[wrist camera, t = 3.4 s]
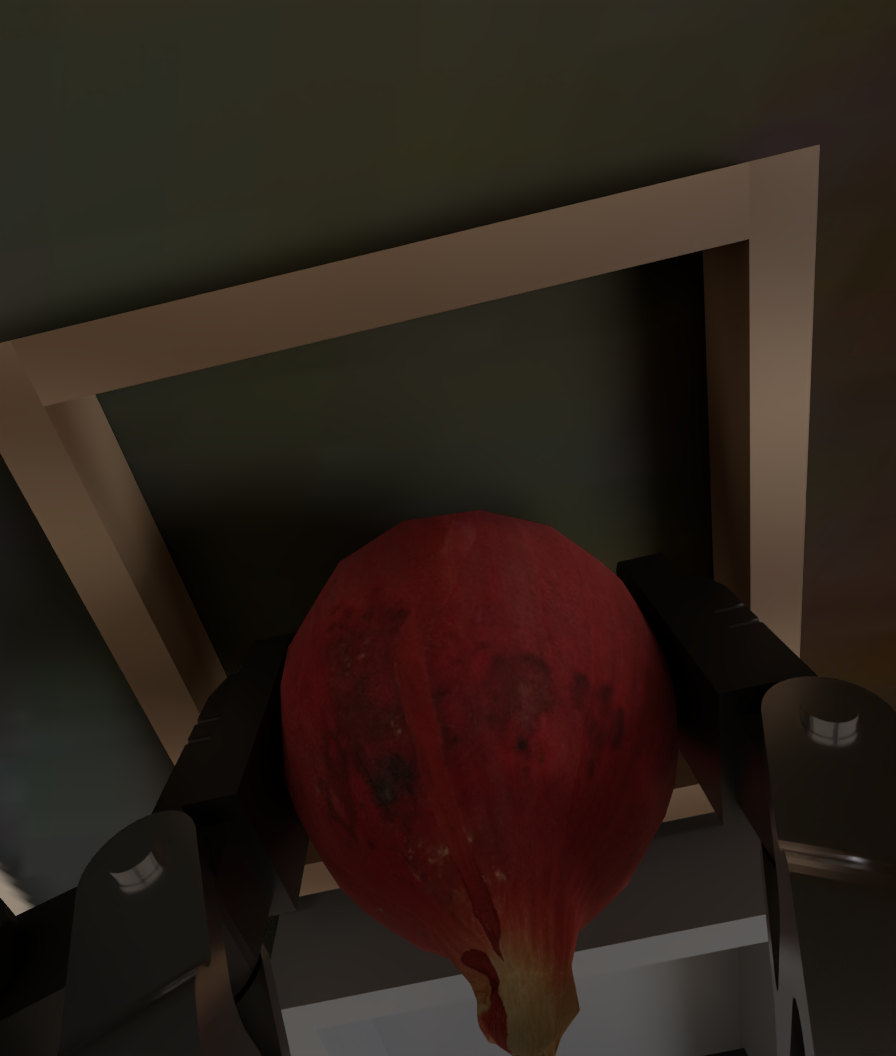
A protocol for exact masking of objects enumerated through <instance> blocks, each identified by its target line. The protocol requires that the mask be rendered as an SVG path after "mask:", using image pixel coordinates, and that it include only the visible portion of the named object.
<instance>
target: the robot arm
mask: <svg viewBox="0 0 896 1056" xmlns="http://www.w3.org/2000/svg"><path fill="white" fill-rule="evenodd" d="M616 573H617V577H618V578H620V579H621V580H622V582H623V583H624V585H625V586H626V588H627V589H628V591H629V593H630V594H631V596H632V597H633V599H634V600H635V602H636V603H637V605H638V607H639V608H640V610H641V611H642V613H643V614H644V616H645V617H646V619H647V621H648V622H649V624H650V626H651V627H652V629H653V631H654V633H655V635H656V637H657V639H658V641H659V643H660V645H661V647H662V649H663V651H664V653H665V655H666V657H667V659H668V661H669V666H670V671H671V676H672V682H673V687H674V692H675V697H676V714H677V731H678V748H679V749H680V751H681V753H682V755H683V756H684V758H685V760H686V762H687V764H688V765H689V767H690V769H691V771H692V772H693V774H694V776H695V778H696V779H697V781H698V783H699V785H700V786H701V788H702V790H703V792H704V793H705V795H706V797H707V799H708V801H709V802H710V804H711V806H712V808H713V809H714V811H715V813H716V815H717V816H718V818H719V820H720V822H721V823H722V825H723V826H726V825H731V824H736V823H741V822H746V821H749V823H750V824H751V826H752V827H753V829H754V831H755V832H756V834H757V835H758V837H759V839H760V840H761V841H760V861H761V871H762V882H763V892H764V902H765V912H766V923H767V933H768V943H769V954H770V964H771V974H772V984H773V995H774V1006H775V1020H776V1039H777V1056H896V712H895V711H894V710H893V708H892V707H891V706H890V705H889V704H887V703H886V702H885V701H884V700H883V699H881V698H880V697H878V696H877V695H876V694H874V693H872V692H870V691H868V690H866V689H865V688H862V687H860V686H857V685H855V684H852V683H849V682H846V681H842V680H838V679H833V678H828V677H818V676H817V675H816V674H815V673H814V672H813V671H812V670H811V669H810V668H809V667H808V666H807V665H806V664H805V663H804V662H803V661H802V660H801V659H800V658H799V657H798V656H797V655H796V654H795V653H794V652H793V651H792V650H791V649H790V648H789V647H788V646H787V645H786V644H785V643H784V642H783V641H782V640H781V639H779V638H778V637H777V636H776V635H775V634H774V633H773V632H772V631H771V630H770V629H769V628H768V627H767V626H766V625H765V624H764V623H763V622H760V621H759V618H758V617H757V616H756V615H755V614H754V613H753V612H752V611H751V610H750V609H749V608H748V607H744V604H743V602H742V601H741V600H740V599H739V598H738V597H737V596H736V595H735V594H734V593H733V592H732V591H731V590H729V589H728V588H727V587H726V586H725V585H723V584H721V583H719V582H716V581H714V580H712V579H710V578H707V577H705V576H703V575H701V574H699V573H698V574H694V575H689V576H684V577H683V576H682V575H681V574H680V573H679V572H678V570H677V569H676V568H675V567H674V566H673V565H672V564H671V563H670V562H669V561H668V559H667V558H666V557H665V556H664V555H663V554H661V553H657V554H653V555H648V556H644V557H639V558H634V559H630V560H625V561H621V562H618V564H617V568H616ZM295 635H296V633H291V634H286V635H281V636H277V637H272V638H268V639H263V640H259V641H255V642H253V643H252V645H251V647H250V649H249V651H248V654H247V656H246V658H245V660H244V663H243V665H242V667H241V670H240V672H239V673H237V674H232V675H229V676H228V677H227V678H226V679H225V680H224V681H223V682H222V683H221V684H220V685H219V686H218V687H217V688H216V690H215V691H214V692H213V693H212V694H211V695H210V696H209V697H208V699H207V701H206V703H205V705H204V707H203V709H202V711H201V713H200V715H199V717H198V719H197V722H198V724H197V725H195V726H194V728H193V730H192V732H191V734H190V736H189V738H188V744H186V745H185V746H184V748H183V750H182V752H181V754H180V756H179V758H178V761H177V763H176V765H175V767H174V769H173V771H172V773H171V775H170V777H169V779H168V781H167V783H166V785H165V787H164V789H163V791H162V793H161V796H160V798H159V800H158V802H157V804H156V806H155V808H154V810H153V812H152V814H151V815H148V816H145V817H143V818H141V819H139V820H137V821H135V822H133V823H132V824H130V825H128V826H127V827H125V828H124V829H122V830H121V831H120V832H118V833H117V834H116V835H115V836H113V837H112V838H111V839H110V840H109V841H108V842H107V843H106V844H104V845H103V846H102V847H101V848H100V850H99V851H98V852H97V853H96V854H95V855H94V857H93V858H92V859H91V861H90V862H89V863H88V865H87V866H86V868H85V870H84V872H83V874H82V875H81V878H80V880H79V883H78V886H77V887H75V888H73V889H71V890H69V891H67V892H65V893H63V894H61V895H59V896H57V897H54V898H52V899H50V900H48V901H46V902H44V903H42V904H40V905H38V906H36V907H34V908H32V909H29V910H27V911H25V912H23V913H21V914H19V915H17V916H15V915H14V914H13V912H12V911H11V910H10V909H9V907H8V906H7V905H6V904H5V903H4V901H3V900H2V899H1V898H0V1056H291V1053H290V1049H289V1044H288V1039H287V1035H286V1030H285V1026H284V1021H283V1016H282V1012H281V1007H280V1003H279V998H278V994H277V989H276V984H275V980H274V975H273V971H272V966H271V961H270V957H269V954H268V951H267V950H266V948H265V946H264V944H263V943H262V942H263V938H264V933H265V929H266V924H267V920H268V917H269V916H274V915H279V914H284V913H289V912H294V911H296V910H297V905H298V899H299V894H300V888H301V883H302V877H303V872H304V866H305V861H306V855H307V850H308V844H309V839H310V838H309V836H308V834H307V832H306V830H305V828H304V826H303V825H302V823H301V821H300V819H299V817H298V815H297V813H296V810H295V807H294V804H293V801H292V799H291V796H290V793H289V790H288V788H287V785H286V782H285V774H284V762H283V751H282V727H281V687H280V686H281V680H282V675H283V670H284V665H285V660H286V655H287V650H288V646H289V645H290V643H291V641H292V640H293V638H294V636H295ZM704 1056H748V1055H747V1053H746V1051H745V1048H741V1049H736V1050H730V1051H725V1052H720V1053H715V1054H709V1055H704Z"/></svg>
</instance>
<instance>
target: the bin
mask: <svg viewBox="0 0 896 1056" xmlns="http://www.w3.org/2000/svg"><path fill="white" fill-rule="evenodd" d="M760 841H761V840H760V839H759V837H758V835H757V834H756V832H755V831H754V829H753V827H752V826H751V824H750V823H749V821H746V822H741V823H736V824H731V825H726V826H723V825H722V823H721V822H720V820H719V818H718V816H717V815H716V813H715V812H711V813H706V814H701V815H696V816H692V817H687V818H682V819H677V820H672V821H667V822H662V823H661V825H660V827H659V829H658V830H657V832H656V834H655V836H654V838H653V840H652V841H651V843H650V845H649V847H648V849H647V850H646V852H645V854H644V856H643V858H642V860H641V861H640V863H639V865H638V867H637V868H636V870H635V872H634V874H633V875H632V877H631V879H630V881H629V882H628V884H627V886H626V887H625V888H624V889H623V890H622V891H621V892H620V893H619V894H618V895H617V896H616V897H615V898H614V899H613V900H612V901H611V902H610V903H609V904H608V905H607V906H606V907H605V908H604V909H603V910H602V911H601V912H600V913H599V914H598V915H597V916H596V917H594V918H593V919H592V920H591V921H590V922H589V923H588V924H587V925H586V926H585V927H584V928H583V929H582V930H581V931H580V932H578V936H577V941H576V946H575V952H574V957H573V962H572V971H573V977H574V982H575V987H576V992H577V997H578V1002H579V1007H580V1011H579V1013H578V1014H577V1016H576V1017H575V1018H574V1020H573V1021H572V1023H571V1024H570V1025H569V1027H568V1028H567V1030H566V1031H565V1032H564V1034H563V1035H562V1037H561V1040H560V1043H559V1046H558V1049H557V1052H556V1055H555V1056H704V1055H709V1054H715V1053H720V1052H725V1051H730V1050H736V1049H741V1048H745V1051H746V1053H747V1055H748V1056H777V1039H776V1020H775V1006H774V995H773V984H772V974H771V964H770V954H769V943H768V933H767V923H766V912H765V902H764V892H763V882H762V871H761V861H760ZM270 961H271V966H272V971H273V975H274V980H275V984H276V989H277V994H278V998H279V1003H280V1007H281V1012H282V1016H283V1021H284V1026H285V1030H286V1035H287V1039H288V1044H289V1049H290V1053H291V1056H512V1055H511V1054H509V1053H508V1052H506V1051H505V1050H503V1049H502V1048H500V1047H499V1046H498V1045H497V1044H492V1043H489V1042H488V1041H487V1039H486V1037H485V1036H484V1034H483V1032H482V1031H481V1029H480V1027H479V1024H478V1018H477V1000H476V997H475V995H474V992H473V990H472V987H471V984H470V983H469V982H468V981H467V980H466V978H465V977H464V976H463V975H462V973H461V972H460V971H459V970H458V969H457V967H456V966H455V965H454V964H453V962H452V961H451V960H450V959H448V958H444V957H441V956H438V955H435V954H433V953H430V952H427V951H424V950H422V949H420V948H418V947H417V946H415V945H414V944H412V943H410V942H409V941H407V940H405V939H404V938H402V937H400V936H399V935H397V934H396V933H394V932H392V931H391V930H389V929H388V928H386V927H385V926H383V925H382V924H381V923H379V922H378V921H376V920H375V919H373V918H372V917H371V916H369V915H368V914H366V913H365V912H363V911H362V910H361V909H360V908H359V907H358V906H357V905H356V904H355V903H354V902H353V901H352V900H351V899H350V898H349V897H348V896H347V895H346V894H345V893H344V892H343V891H342V890H341V889H340V888H338V889H333V890H329V891H324V892H319V893H314V894H309V895H304V896H299V899H298V905H297V910H296V911H294V912H289V913H284V914H280V916H279V921H278V925H277V930H276V935H275V940H274V945H273V950H272V954H271V959H270Z"/></svg>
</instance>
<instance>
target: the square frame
mask: <svg viewBox="0 0 896 1056" xmlns="http://www.w3.org/2000/svg"><path fill="white" fill-rule="evenodd" d="M819 151H820V145H816V146H812V147H808V148H804V149H800V150H795V151H791V152H787V153H783V154H779V155H775V156H771V157H767V158H762V159H758V160H754V161H750V162H746V163H742V164H738V165H733V166H729V167H725V168H721V169H717V170H713V171H709V172H705V173H700V174H696V175H692V176H688V177H684V178H680V179H676V180H671V181H667V182H663V183H659V184H655V185H651V186H647V187H643V188H638V189H634V190H630V191H626V192H622V193H618V194H614V195H610V196H605V197H601V198H597V199H593V200H589V201H585V202H581V203H576V204H572V205H568V206H564V207H560V208H556V209H552V210H548V211H543V212H539V213H535V214H531V215H527V216H523V217H519V218H514V219H510V220H506V221H502V222H498V223H494V224H490V225H486V226H481V227H477V228H473V229H469V230H465V231H461V232H457V233H453V234H448V235H444V236H440V237H436V238H432V239H428V240H424V241H419V242H415V243H411V244H407V245H403V246H399V247H395V248H391V249H386V250H382V251H378V252H374V253H370V254H366V255H362V256H357V257H353V258H349V259H345V260H341V261H337V262H333V263H329V264H324V265H320V266H316V267H312V268H308V269H304V270H300V271H296V272H291V273H287V274H283V275H279V276H275V277H271V278H267V279H262V280H258V281H254V282H250V283H246V284H242V285H238V286H234V287H229V288H225V289H221V290H217V291H213V292H209V293H205V294H200V295H196V296H192V297H188V298H184V299H180V300H176V301H172V302H167V303H163V304H159V305H155V306H151V307H147V308H143V309H139V310H134V311H130V312H126V313H122V314H118V315H114V316H110V317H105V318H101V319H97V320H93V321H89V322H85V323H81V324H77V325H72V326H68V327H64V328H60V329H56V330H52V331H48V332H43V333H39V334H35V335H31V336H27V337H23V338H19V339H15V340H10V341H6V342H2V343H0V454H1V455H2V457H3V459H4V461H5V463H6V464H7V466H8V468H9V470H10V472H11V473H12V475H13V477H14V479H15V481H16V482H17V484H18V486H19V488H20V490H21V491H22V493H23V495H24V497H25V499H26V500H27V502H28V504H29V506H30V508H31V509H32V511H33V513H34V515H35V516H36V518H37V520H38V522H39V524H40V525H41V527H42V529H43V531H44V533H45V534H46V536H47V538H48V540H49V542H50V543H51V545H52V547H53V549H54V551H55V552H56V554H57V556H58V558H59V560H60V561H61V563H62V565H63V567H64V568H65V570H66V572H67V574H68V576H69V577H70V579H71V581H72V583H73V585H74V586H75V588H76V590H77V592H78V594H79V595H80V597H81V599H82V601H83V603H84V604H85V606H86V608H87V610H88V612H89V613H90V615H91V617H92V619H93V620H94V622H95V624H96V626H97V628H98V629H99V631H100V633H101V635H102V637H103V638H104V640H105V642H106V644H107V646H108V647H109V649H110V651H111V653H112V655H113V656H114V658H115V660H116V662H117V664H118V665H119V667H120V669H121V671H122V673H123V674H124V676H125V678H126V680H127V681H128V683H129V685H130V687H131V689H132V690H133V692H134V694H135V696H136V698H137V699H138V701H139V703H140V705H141V707H142V708H143V710H144V712H145V714H146V716H147V717H148V719H149V721H150V723H151V725H152V726H153V728H154V730H155V732H156V733H157V735H158V737H159V739H160V741H161V742H162V744H163V746H164V748H165V750H166V751H167V753H168V755H169V757H170V759H171V760H172V762H173V764H174V766H175V765H176V763H177V761H178V758H179V756H180V754H181V752H182V750H183V748H184V746H185V745H186V744H188V738H189V736H190V734H191V732H192V730H193V728H194V726H195V725H197V724H198V722H197V719H198V717H199V715H200V713H201V711H202V709H203V707H204V705H205V703H206V701H207V699H208V697H209V696H210V695H211V694H212V693H213V692H214V691H215V690H216V688H217V687H218V686H219V685H220V684H221V683H222V682H223V681H224V680H225V679H226V678H227V675H226V673H225V671H224V669H223V667H222V665H221V663H220V661H219V658H218V656H217V654H216V652H215V650H214V648H213V646H212V643H211V641H210V639H209V637H208V635H207V633H206V631H205V628H204V626H203V624H202V622H201V620H200V618H199V616H198V613H197V611H196V609H195V607H194V605H193V603H192V601H191V598H190V596H189V594H188V592H187V590H186V588H185V586H184V583H183V581H182V579H181V577H180V575H179V573H178V571H177V568H176V566H175V564H174V562H173V560H172V558H171V556H170V553H169V551H168V549H167V547H166V545H165V543H164V541H163V538H162V536H161V534H160V532H159V530H158V528H157V526H156V523H155V521H154V519H153V517H152V515H151V513H150V511H149V508H148V506H147V504H146V502H145V500H144V498H143V496H142V494H141V491H140V489H139V487H138V485H137V483H136V481H135V479H134V476H133V474H132V472H131V470H130V468H129V466H128V464H127V461H126V459H125V457H124V455H123V453H122V451H121V449H120V446H119V444H118V442H117V440H116V438H115V436H114V434H113V431H112V429H111V427H110V425H109V423H108V421H107V419H106V416H105V414H104V412H103V410H102V408H101V406H100V404H99V401H98V399H97V397H96V395H95V394H99V393H103V392H107V391H111V390H116V389H120V388H124V387H128V386H133V385H137V384H141V383H145V382H149V381H154V380H158V379H162V378H166V377H170V376H175V375H179V374H183V373H187V372H191V371H196V370H200V369H204V368H208V367H213V366H217V365H221V364H225V363H229V362H234V361H238V360H242V359H246V358H250V357H255V356H259V355H263V354H267V353H272V352H276V351H280V350H284V349H288V348H293V347H297V346H301V345H305V344H309V343H314V342H318V341H322V340H326V339H330V338H335V337H339V336H343V335H347V334H352V333H356V332H360V331H364V330H368V329H373V328H377V327H381V326H385V325H389V324H394V323H398V322H402V321H406V320H410V319H415V318H419V317H423V316H427V315H432V314H436V313H440V312H444V311H448V310H453V309H457V308H461V307H465V306H469V305H474V304H478V303H482V302H486V301H491V300H495V299H499V298H503V297H507V296H512V295H516V294H520V293H524V292H528V291H533V290H537V289H541V288H545V287H549V286H554V285H558V284H562V283H566V282H571V281H575V280H579V279H583V278H587V277H592V276H596V275H600V274H604V273H608V272H613V271H617V270H621V269H625V268H629V267H634V266H638V265H642V264H646V263H651V262H655V261H659V260H663V259H667V258H672V257H676V256H680V255H684V254H688V253H693V252H697V251H701V250H703V273H704V303H705V333H706V363H707V393H708V423H709V453H710V483H711V513H712V543H713V573H714V581H716V582H719V583H721V584H723V585H725V586H726V587H727V588H728V589H729V590H731V591H732V592H733V593H734V594H735V595H736V596H737V597H738V598H739V599H740V600H741V601H742V602H743V604H744V607H748V608H749V609H750V610H751V611H752V612H753V613H754V614H755V615H756V616H757V617H758V618H759V621H760V622H763V623H764V624H765V625H766V626H767V627H768V628H769V629H770V630H771V631H772V632H773V633H774V634H775V635H776V636H777V637H778V638H779V639H781V640H782V641H783V642H784V643H785V644H786V645H787V646H788V647H789V648H790V649H791V650H792V651H793V652H794V653H795V654H796V655H797V656H798V657H799V658H800V636H801V610H802V585H803V559H804V533H805V508H806V482H807V457H808V431H809V406H810V380H811V355H812V329H813V304H814V278H815V253H816V227H817V202H818V176H819ZM678 749H679V748H678ZM711 812H715V811H714V809H713V808H712V806H711V804H710V802H709V801H708V799H707V797H706V795H705V793H704V792H703V790H702V788H701V786H700V785H699V783H698V781H697V779H696V778H695V776H694V774H693V772H692V771H691V769H690V767H689V765H688V764H687V762H686V760H685V758H684V756H683V755H682V753H681V751H680V749H679V754H678V763H677V773H676V782H675V787H674V790H673V793H672V796H671V800H670V803H669V806H668V809H667V812H666V815H665V818H664V819H663V821H662V822H667V821H672V820H677V819H682V818H687V817H692V816H696V815H701V814H706V813H711ZM338 888H339V886H338V884H337V883H336V881H335V880H334V878H333V877H332V875H331V874H330V872H329V871H328V869H327V868H326V866H325V865H324V863H323V862H322V860H321V858H320V856H319V854H318V852H317V851H316V849H315V847H314V845H313V843H312V841H311V839H309V844H308V850H307V855H306V861H305V866H304V872H303V877H302V883H301V888H300V894H299V896H304V895H309V894H314V893H319V892H324V891H329V890H333V889H338Z"/></svg>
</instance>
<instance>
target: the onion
mask: <svg viewBox="0 0 896 1056" xmlns="http://www.w3.org/2000/svg"><path fill="white" fill-rule="evenodd" d="M280 687H281V727H282V751H283V762H284V774H285V782H286V785H287V788H288V790H289V793H290V796H291V799H292V801H293V804H294V807H295V810H296V813H297V815H298V817H299V819H300V821H301V823H302V825H303V826H304V828H305V830H306V832H307V834H308V836H309V838H310V839H311V841H312V843H313V845H314V847H315V849H316V851H317V852H318V854H319V856H320V858H321V860H322V862H323V863H324V865H325V866H326V868H327V869H328V871H329V872H330V874H331V875H332V877H333V878H334V880H335V881H336V883H337V884H338V886H339V888H340V889H341V890H342V891H343V892H344V893H345V894H346V895H347V896H348V897H349V898H350V899H351V900H352V901H353V902H354V903H355V904H356V905H357V906H358V907H359V908H360V909H361V910H362V911H363V912H365V913H366V914H368V915H369V916H371V917H372V918H373V919H375V920H376V921H378V922H379V923H381V924H382V925H383V926H385V927H386V928H388V929H389V930H391V931H392V932H394V933H396V934H397V935H399V936H400V937H402V938H404V939H405V940H407V941H409V942H410V943H412V944H414V945H415V946H417V947H418V948H420V949H422V950H424V951H427V952H430V953H433V954H435V955H438V956H441V957H444V958H448V959H450V960H451V961H452V962H453V964H454V965H455V966H456V967H457V969H458V970H459V971H460V972H461V973H462V975H463V976H464V977H465V978H466V980H467V981H468V982H469V983H470V984H471V987H472V990H473V992H474V995H475V997H476V1000H477V1018H478V1024H479V1027H480V1029H481V1031H482V1032H483V1034H484V1036H485V1037H486V1039H487V1041H488V1042H489V1043H492V1044H497V1045H498V1046H499V1047H500V1048H502V1049H503V1050H505V1051H506V1052H508V1053H509V1054H511V1055H512V1056H555V1055H556V1052H557V1049H558V1046H559V1043H560V1040H561V1037H562V1035H563V1034H564V1032H565V1031H566V1030H567V1028H568V1027H569V1025H570V1024H571V1023H572V1021H573V1020H574V1018H575V1017H576V1016H577V1014H578V1013H579V1011H580V1007H579V1002H578V997H577V992H576V987H575V982H574V977H573V971H572V962H573V957H574V952H575V946H576V941H577V936H578V932H580V931H581V930H582V929H583V928H584V927H585V926H586V925H587V924H588V923H589V922H590V921H591V920H592V919H593V918H594V917H596V916H597V915H598V914H599V913H600V912H601V911H602V910H603V909H604V908H605V907H606V906H607V905H608V904H609V903H610V902H611V901H612V900H613V899H614V898H615V897H616V896H617V895H618V894H619V893H620V892H621V891H622V890H623V889H624V888H625V887H626V886H627V884H628V882H629V881H630V879H631V877H632V875H633V874H634V872H635V870H636V868H637V867H638V865H639V863H640V861H641V860H642V858H643V856H644V854H645V852H646V850H647V849H648V847H649V845H650V843H651V841H652V840H653V838H654V836H655V834H656V832H657V830H658V829H659V827H660V825H661V823H662V821H663V819H664V818H665V815H666V812H667V809H668V806H669V803H670V800H671V796H672V793H673V790H674V787H675V782H676V773H677V763H678V754H679V749H678V731H677V714H676V697H675V692H674V687H673V682H672V676H671V671H670V666H669V661H668V659H667V657H666V655H665V653H664V651H663V649H662V647H661V645H660V643H659V641H658V639H657V637H656V635H655V633H654V631H653V629H652V627H651V626H650V624H649V622H648V621H647V619H646V617H645V616H644V614H643V613H642V611H641V610H640V608H639V607H638V605H637V603H636V602H635V600H634V599H633V597H632V596H631V594H630V593H629V591H628V589H627V588H626V586H625V585H624V583H623V582H622V580H621V579H620V578H618V577H617V576H616V575H615V574H614V573H613V572H612V571H611V570H609V569H608V568H607V567H606V566H605V565H604V564H603V563H602V562H600V561H599V560H598V559H597V558H595V557H594V556H593V555H591V554H590V553H588V552H587V551H585V550H584V549H583V548H581V547H580V546H578V545H577V544H575V543H574V542H573V541H571V540H570V539H568V538H567V537H565V536H564V535H562V534H561V533H560V532H558V531H557V530H555V529H554V528H552V527H551V526H549V525H545V524H540V523H536V522H532V521H527V520H523V519H518V518H514V517H509V516H505V515H501V514H496V513H492V512H487V511H483V510H476V511H469V512H462V513H455V514H448V515H441V516H434V517H427V518H420V519H413V520H406V521H402V522H400V523H399V524H397V525H396V526H394V527H393V528H391V529H390V530H388V531H387V532H385V533H383V534H382V535H380V536H379V537H377V538H376V539H374V540H373V541H371V542H369V543H368V544H366V545H365V546H363V547H362V548H360V549H359V550H357V551H355V552H354V553H352V554H351V555H349V556H348V557H346V558H345V559H343V560H342V561H340V562H339V564H338V565H337V567H336V568H335V570H334V572H333V573H332V575H331V576H330V578H329V579H328V581H327V583H326V584H325V586H324V587H323V589H322V591H321V592H320V594H319V596H318V598H317V599H316V601H315V603H314V604H313V606H312V608H311V609H310V611H309V613H308V614H307V616H306V618H305V619H304V621H303V623H302V624H301V626H300V628H299V630H298V631H297V633H296V635H295V636H294V638H293V640H292V641H291V643H290V645H289V646H288V650H287V655H286V660H285V665H284V670H283V675H282V680H281V686H280Z"/></svg>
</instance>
